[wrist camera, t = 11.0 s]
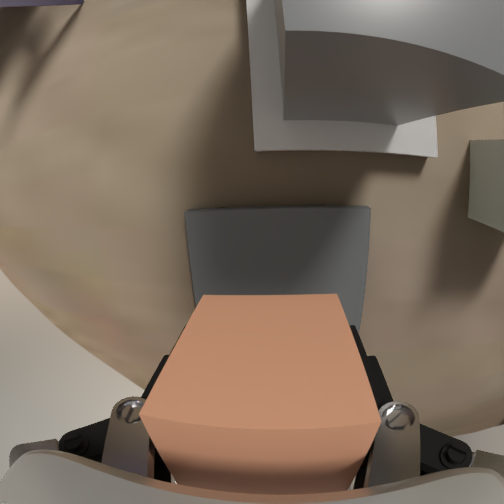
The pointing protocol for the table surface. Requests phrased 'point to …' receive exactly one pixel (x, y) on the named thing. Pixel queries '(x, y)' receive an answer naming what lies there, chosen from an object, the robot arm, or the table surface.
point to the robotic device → (37, 2)
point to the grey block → (487, 183)
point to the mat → (281, 252)
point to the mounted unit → (369, 71)
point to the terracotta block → (264, 397)
